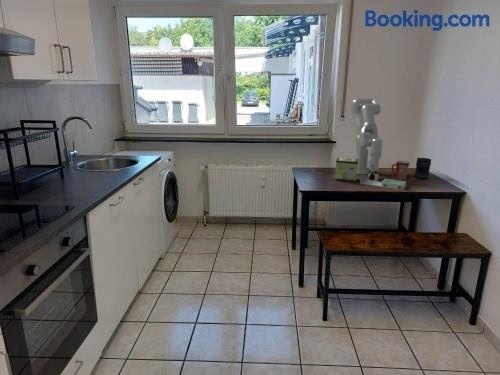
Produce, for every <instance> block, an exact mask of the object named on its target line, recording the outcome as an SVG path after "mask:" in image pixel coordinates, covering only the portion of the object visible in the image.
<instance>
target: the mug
mask: <svg viewBox="0 0 500 375" xmlns="http://www.w3.org/2000/svg"><path fill="white" fill-rule="evenodd" d="M410 163H411V162H410V161H407V160H397V161H396V163H393V164H392V165H391V171H392V174H394V176H395V180H398V181H406V180H407V176H408V171H409V166H410ZM394 167H395V169H396V170H394Z"/></svg>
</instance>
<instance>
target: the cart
mask: <svg viewBox="0 0 500 375" xmlns="http://www.w3.org/2000/svg"><path fill="white" fill-rule="evenodd" d="M381 182H382V185H381V186H388V187H394V188H399V189H400V188H401V189H403V188H404V187H405V185H406V184H407V181H406V180H397V179H391V178H390V179H388V178H385V179H383V180H382V181H381ZM405 188H406V187H405ZM405 188H404V189H405ZM399 189H398V190H399Z"/></svg>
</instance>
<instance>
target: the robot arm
mask: <svg viewBox="0 0 500 375" xmlns="http://www.w3.org/2000/svg"><path fill="white" fill-rule="evenodd" d="M350 109H351V113H352V115H353V118H354V124H355V129H356V132H357V134H358V135H356V137H355V145H356V147H355V148H356V149H355V150H356V151H355V159H358V169H357V175H368V174H370V180H373V181H374V177H375V175H374V174H378V170H379V167H380V159H381V158H382V149H383V148H382V147H383V138H380V137H379V130H378V125H377V122H376V120H375V116H378V115H380V114H381V112H382V111H381V110H382V109H381V105H380V104H379V102H377V101H376V100H375V99H374V98H372V97H370V98H368V97H367V98H366V97H359V98H354V99H353V100H352V101H351V104H350ZM368 148H370V151H369V149H368ZM369 152H370V155H369ZM369 158H370V161H369ZM368 162H369V167H368ZM369 171H370V173H369Z"/></svg>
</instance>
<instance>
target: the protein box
mask: <svg viewBox="0 0 500 375" xmlns="http://www.w3.org/2000/svg"><path fill="white" fill-rule="evenodd" d="M357 169H358V159H356V158H347V157H337V159H336V161H335V175H334V176H335V177H334V181H336V182H337V181H339V182H348V183H349V182H351V183H357V179H358V174H357Z"/></svg>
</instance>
